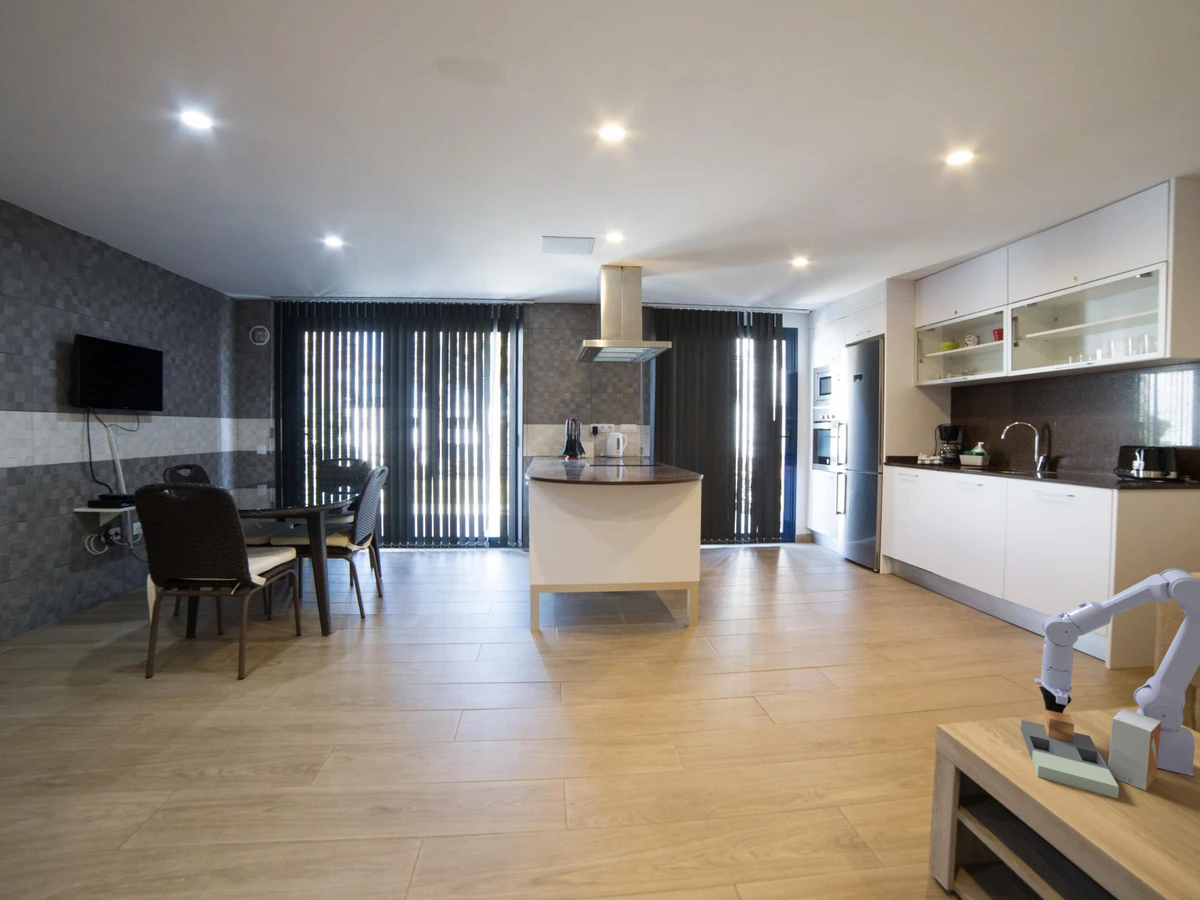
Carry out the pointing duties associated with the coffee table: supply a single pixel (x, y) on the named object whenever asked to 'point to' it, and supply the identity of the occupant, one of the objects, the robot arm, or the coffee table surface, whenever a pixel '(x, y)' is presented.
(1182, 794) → the coffee table surface
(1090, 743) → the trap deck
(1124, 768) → the small box
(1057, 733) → the orange block
